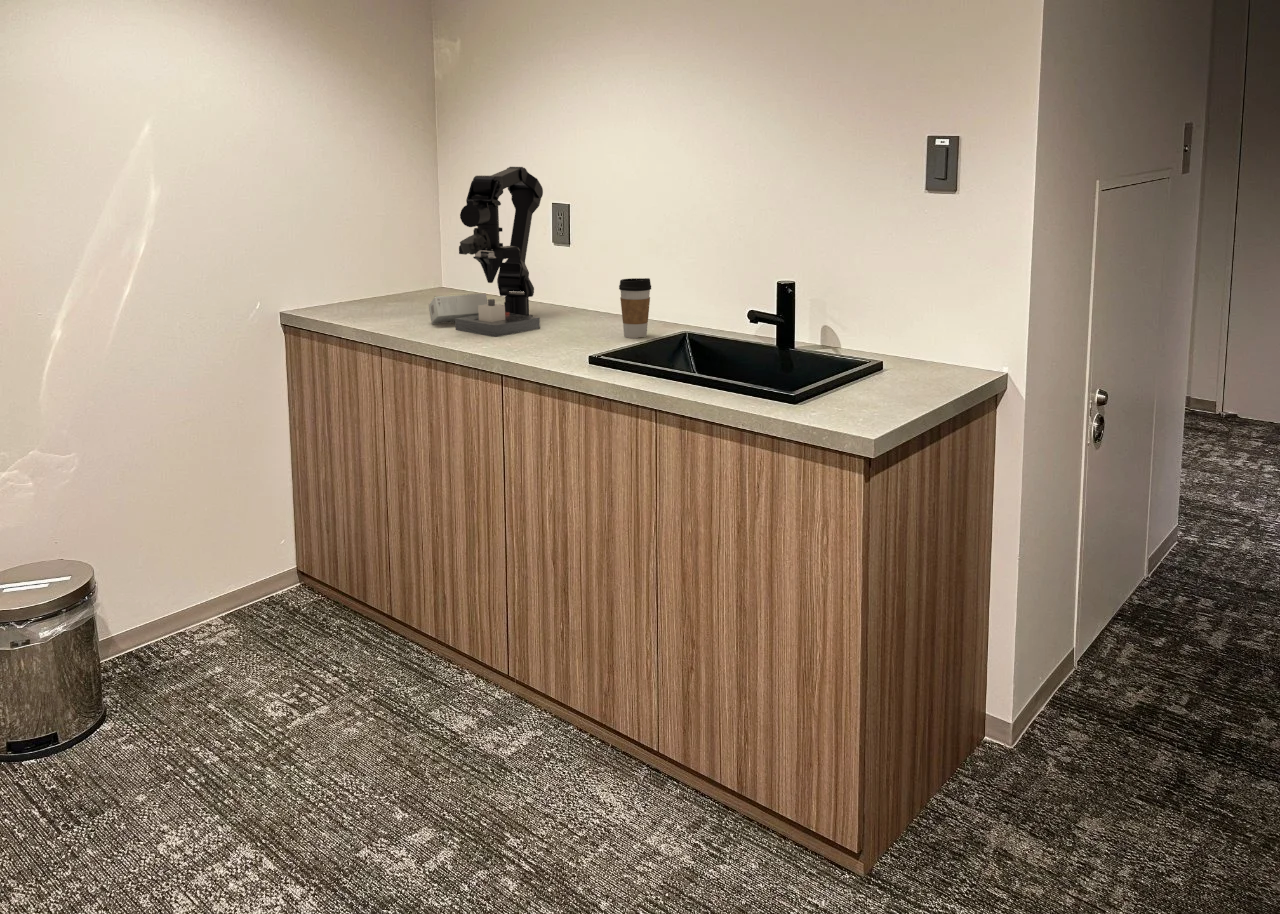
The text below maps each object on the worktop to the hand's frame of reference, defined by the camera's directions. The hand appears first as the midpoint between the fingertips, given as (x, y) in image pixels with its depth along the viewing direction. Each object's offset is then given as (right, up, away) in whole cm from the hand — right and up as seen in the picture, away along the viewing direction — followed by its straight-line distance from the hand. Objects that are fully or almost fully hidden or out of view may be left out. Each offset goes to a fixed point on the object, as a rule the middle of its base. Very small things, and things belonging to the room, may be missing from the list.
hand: (490, 282), depth 314 cm
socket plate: (+2, -13, 0) cm, 13 cm away
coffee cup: (+39, -16, -10) cm, 44 cm away
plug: (+1, -12, -2) cm, 12 cm away
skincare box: (-17, -7, +5) cm, 19 cm away
